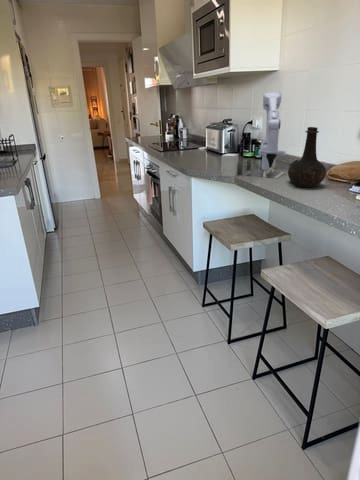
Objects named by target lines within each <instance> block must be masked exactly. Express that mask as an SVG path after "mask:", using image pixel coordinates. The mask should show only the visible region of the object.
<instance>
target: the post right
mask: <svg viewBox="0 0 360 480" xmlns="http://www.w3.org/2000/svg"><path fill="white" fill-rule="evenodd" d="M251 167H252V158H250V157H248V158H246V169H245V170H246V171H251V169H252V168H251Z"/></svg>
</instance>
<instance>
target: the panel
mask: <svg viewBox="0 0 360 480" xmlns="http://www.w3.org/2000/svg"><path fill="white" fill-rule="evenodd" d="M267 171H268V170H257V169H255V170H253V171H252V172H249V173H248V174H247V175H245V177H251V178H252V177H254V178H262V179H263V178H265V179H276V180H277V179H280V178H281V177H282V176H284V175H285V174H286V172H284V171H281V172H280V171H279V172H278V171H275V168H273V169H272V170H271V171H270V172H269V173H268V174H267Z"/></svg>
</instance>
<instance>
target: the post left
mask: <svg viewBox="0 0 360 480" xmlns="http://www.w3.org/2000/svg"><path fill="white" fill-rule="evenodd" d="M243 165H244V164H243V161H238V175H237V176H242V175H243Z"/></svg>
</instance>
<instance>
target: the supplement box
mask: <svg viewBox="0 0 360 480" xmlns="http://www.w3.org/2000/svg"><path fill="white" fill-rule="evenodd" d="M238 162H239V153H225V154H222V155H221V178H223V177H229V178H230V177H231V178H234V177H236V176H239V175H238Z"/></svg>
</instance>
